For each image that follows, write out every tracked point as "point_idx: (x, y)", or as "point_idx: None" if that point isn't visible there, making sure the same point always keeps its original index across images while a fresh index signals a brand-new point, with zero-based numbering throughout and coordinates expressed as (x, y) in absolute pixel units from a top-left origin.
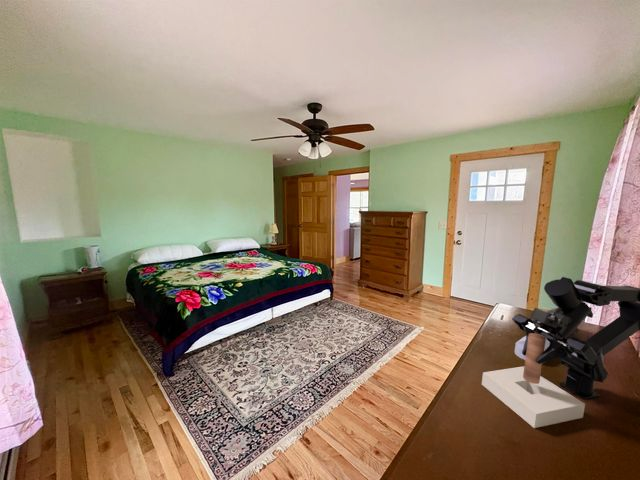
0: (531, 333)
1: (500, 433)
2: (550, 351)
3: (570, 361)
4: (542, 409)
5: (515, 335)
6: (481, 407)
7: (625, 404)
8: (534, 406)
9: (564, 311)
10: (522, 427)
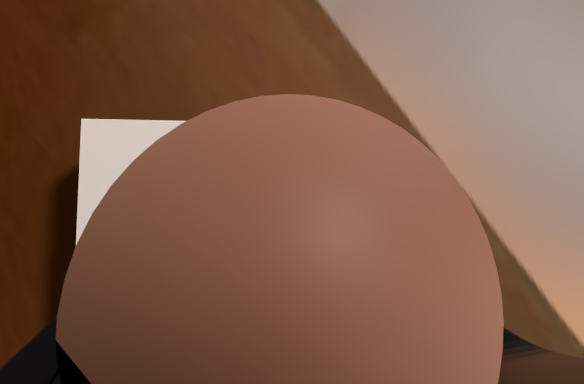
0: (490, 303)
1: (119, 16)
2: (28, 351)
3: None
4: (95, 170)
5: None
6: (228, 50)
7: None
8: (119, 151)
9: None
10: (121, 106)
